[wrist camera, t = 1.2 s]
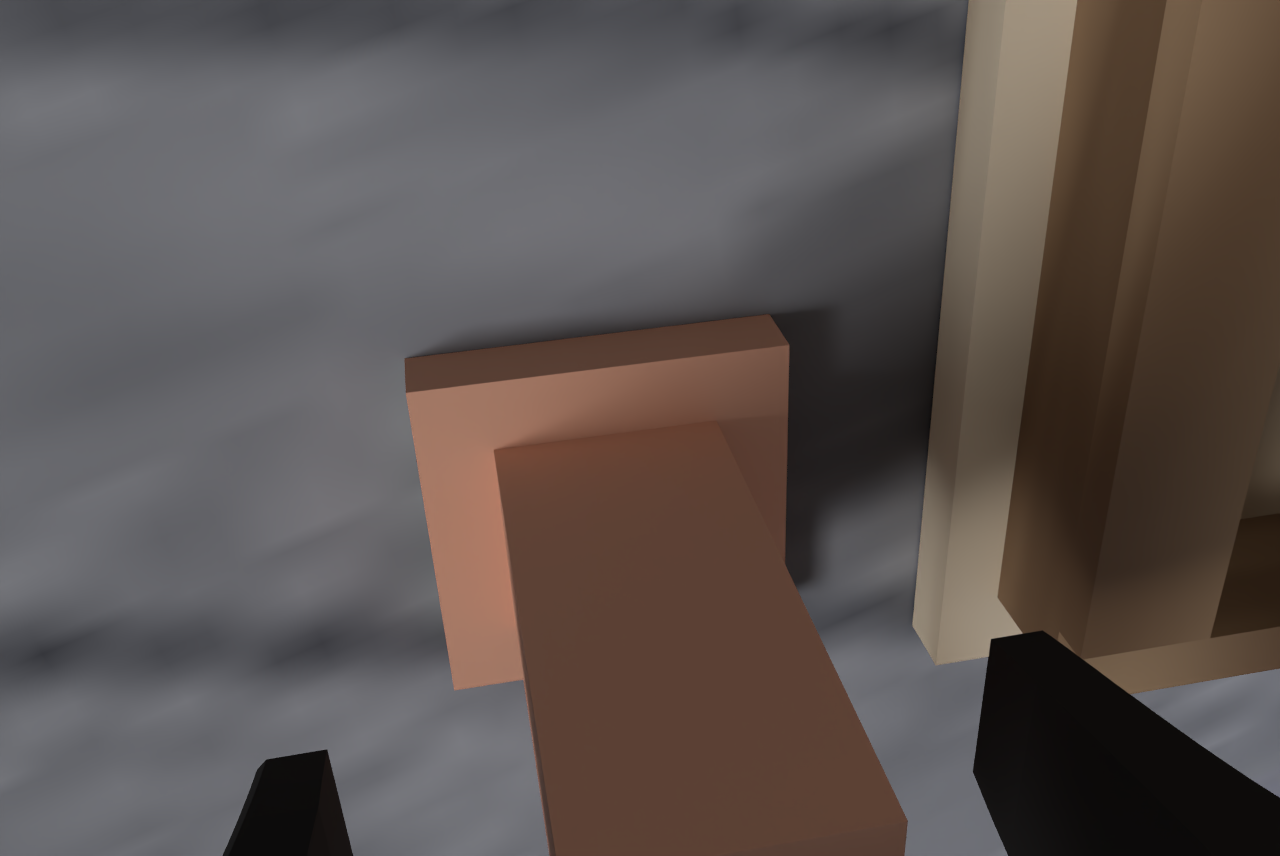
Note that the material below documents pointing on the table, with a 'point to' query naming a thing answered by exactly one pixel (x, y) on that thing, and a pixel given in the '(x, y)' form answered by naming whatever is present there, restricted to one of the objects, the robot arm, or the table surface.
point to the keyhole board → (1111, 342)
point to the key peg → (644, 591)
